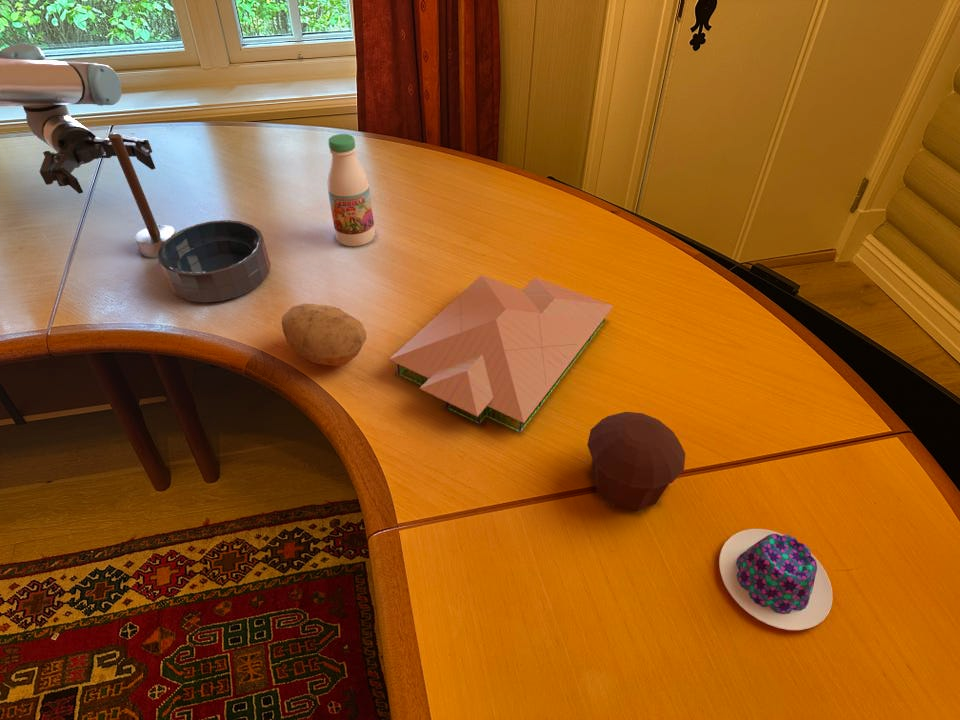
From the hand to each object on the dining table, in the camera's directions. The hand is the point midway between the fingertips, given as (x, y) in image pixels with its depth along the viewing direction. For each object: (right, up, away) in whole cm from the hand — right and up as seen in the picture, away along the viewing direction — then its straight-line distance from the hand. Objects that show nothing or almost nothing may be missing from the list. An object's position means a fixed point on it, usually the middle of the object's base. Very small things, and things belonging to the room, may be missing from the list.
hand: (115, 174), depth 113 cm
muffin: (+87, -51, -35) cm, 107 cm away
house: (+72, -34, -18) cm, 81 cm away
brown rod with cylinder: (+7, -13, +3) cm, 15 cm away
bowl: (+21, -20, -3) cm, 29 cm away
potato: (+44, -34, -18) cm, 59 cm away
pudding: (+101, -60, -45) cm, 126 cm away
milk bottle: (+44, -11, +7) cm, 45 cm away
